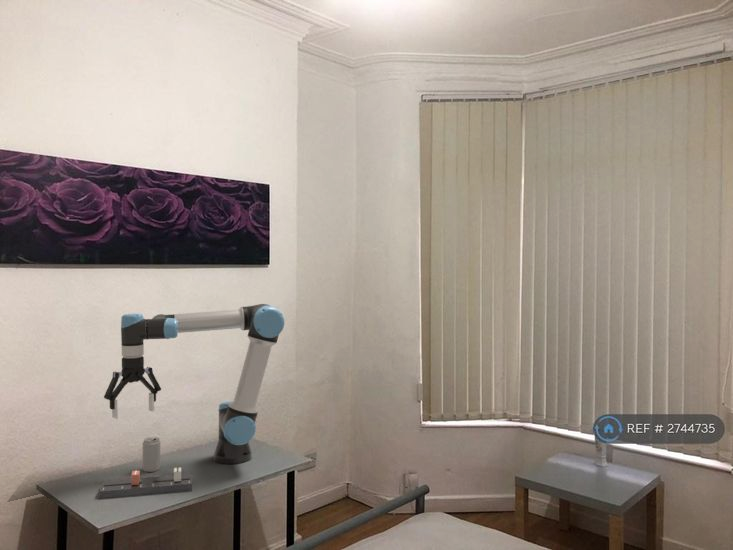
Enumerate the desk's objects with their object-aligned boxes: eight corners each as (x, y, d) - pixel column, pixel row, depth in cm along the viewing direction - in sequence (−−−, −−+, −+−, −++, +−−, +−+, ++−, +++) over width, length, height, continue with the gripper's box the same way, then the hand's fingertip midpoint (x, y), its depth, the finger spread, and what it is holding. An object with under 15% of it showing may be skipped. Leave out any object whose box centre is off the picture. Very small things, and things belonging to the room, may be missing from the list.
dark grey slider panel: (192, 480, 220) (192, 473, 220) (192, 490, 211) (192, 483, 211) (103, 487, 212) (103, 480, 212) (99, 498, 203) (99, 491, 202)
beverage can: (154, 473, 227) (154, 441, 227) (139, 472, 228) (139, 440, 228) (163, 467, 233) (163, 437, 233) (148, 466, 234) (148, 435, 234)
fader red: (139, 480, 213) (139, 470, 213) (138, 484, 209) (138, 474, 209) (132, 480, 212) (132, 470, 212) (131, 485, 208) (131, 474, 208)
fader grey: (181, 477, 217) (181, 467, 216) (181, 481, 213) (181, 470, 212) (174, 477, 216) (174, 467, 216) (173, 481, 212) (174, 471, 212)
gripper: (160, 351, 231) (161, 406, 231) (93, 359, 213) (94, 418, 214) (169, 353, 225) (170, 409, 226) (102, 362, 208) (103, 423, 208)
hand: (133, 414), depth 220 cm, fingers open, 13 cm apart
